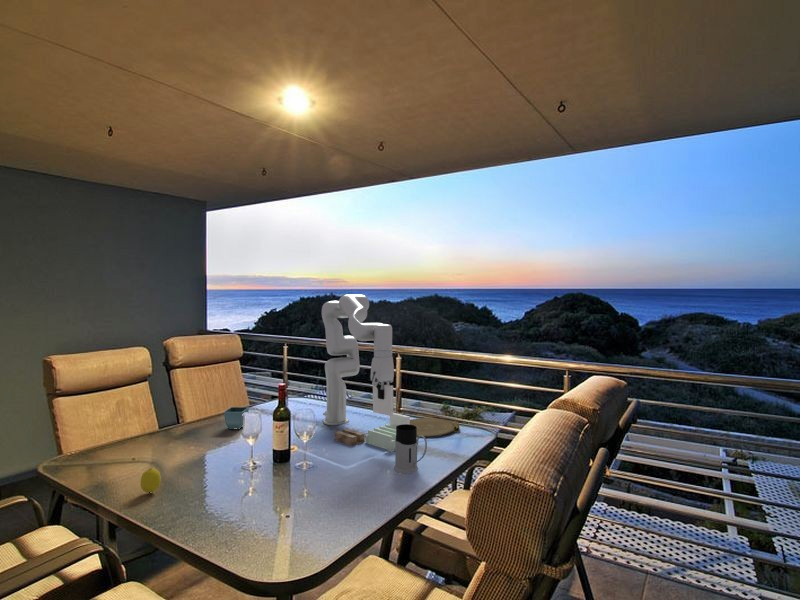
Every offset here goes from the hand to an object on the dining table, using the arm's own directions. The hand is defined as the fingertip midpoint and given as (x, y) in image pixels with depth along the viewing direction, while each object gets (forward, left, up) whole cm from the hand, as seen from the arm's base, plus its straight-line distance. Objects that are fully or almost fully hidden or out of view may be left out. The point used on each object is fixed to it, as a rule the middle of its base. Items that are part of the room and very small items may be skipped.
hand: (382, 398), depth 179 cm
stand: (-14, -6, -20) cm, 25 cm away
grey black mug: (+25, -12, -20) cm, 34 cm away
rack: (0, +5, -20) cm, 21 cm away
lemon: (-25, -80, -20) cm, 86 cm away
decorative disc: (-1, +32, -21) cm, 38 cm away
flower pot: (-68, -28, -20) cm, 76 cm away
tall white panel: (0, 0, -6) cm, 6 cm away
